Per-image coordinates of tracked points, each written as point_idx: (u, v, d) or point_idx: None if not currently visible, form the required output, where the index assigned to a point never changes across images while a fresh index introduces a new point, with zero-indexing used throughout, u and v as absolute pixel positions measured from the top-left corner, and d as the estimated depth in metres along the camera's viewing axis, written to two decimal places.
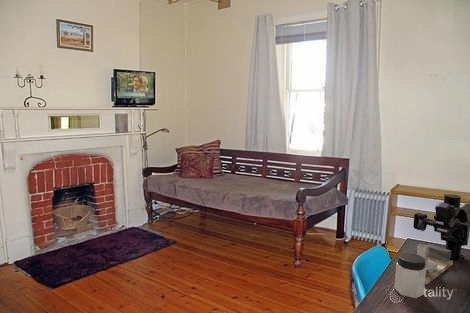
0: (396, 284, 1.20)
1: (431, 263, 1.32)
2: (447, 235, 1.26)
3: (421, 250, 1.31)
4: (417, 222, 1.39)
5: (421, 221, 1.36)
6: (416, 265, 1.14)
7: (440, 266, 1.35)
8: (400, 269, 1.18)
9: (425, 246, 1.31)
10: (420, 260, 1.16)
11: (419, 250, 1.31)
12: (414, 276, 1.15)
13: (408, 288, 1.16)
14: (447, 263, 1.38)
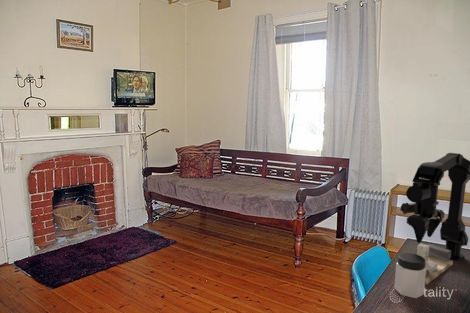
0: (396, 284, 1.20)
1: (431, 263, 1.32)
2: (419, 240, 1.27)
3: (421, 250, 1.31)
4: None
5: None
6: (416, 265, 1.14)
7: (440, 266, 1.35)
8: (400, 269, 1.18)
9: (425, 246, 1.31)
10: (420, 260, 1.16)
11: (419, 250, 1.31)
12: (414, 276, 1.15)
13: (408, 288, 1.16)
14: (447, 263, 1.38)
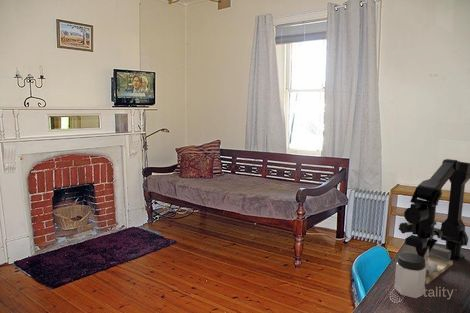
0: (396, 284, 1.20)
1: (431, 263, 1.32)
2: None
3: None
4: None
5: None
6: (416, 265, 1.14)
7: (440, 266, 1.35)
8: (400, 269, 1.18)
9: None
10: (420, 260, 1.16)
11: None
12: (414, 276, 1.15)
13: (408, 288, 1.16)
14: (447, 263, 1.38)
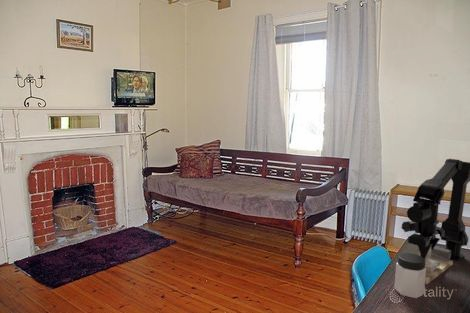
0: (396, 284, 1.20)
1: (433, 261, 1.34)
2: (423, 256, 1.32)
3: None
4: None
5: None
6: (416, 265, 1.14)
7: (440, 266, 1.35)
8: (400, 269, 1.18)
9: None
10: (420, 260, 1.16)
11: None
12: (414, 276, 1.15)
13: (408, 288, 1.16)
14: (447, 263, 1.38)
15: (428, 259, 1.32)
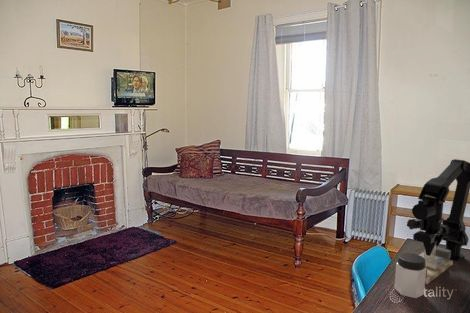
0: (396, 284, 1.20)
1: (438, 258, 1.37)
2: (428, 253, 1.35)
3: None
4: None
5: None
6: (416, 265, 1.14)
7: None
8: (400, 269, 1.18)
9: None
10: (420, 260, 1.16)
11: None
12: (414, 276, 1.15)
13: (408, 288, 1.16)
14: (447, 263, 1.38)
15: (433, 256, 1.35)
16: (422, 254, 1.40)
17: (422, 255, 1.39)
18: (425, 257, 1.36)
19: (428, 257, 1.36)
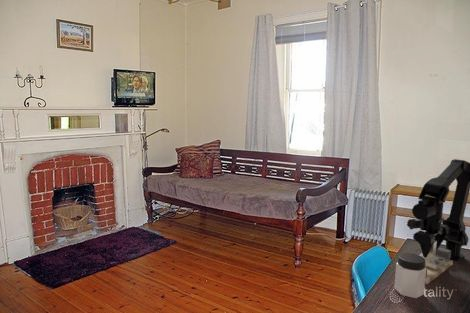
0: (396, 284, 1.20)
1: (438, 258, 1.37)
2: (425, 255, 1.33)
3: None
4: None
5: None
6: (416, 265, 1.14)
7: None
8: (400, 269, 1.18)
9: None
10: (420, 260, 1.16)
11: None
12: (414, 276, 1.15)
13: (408, 288, 1.16)
14: (447, 263, 1.38)
15: (433, 256, 1.35)
16: (422, 254, 1.40)
17: (422, 255, 1.39)
18: None
19: (428, 257, 1.36)
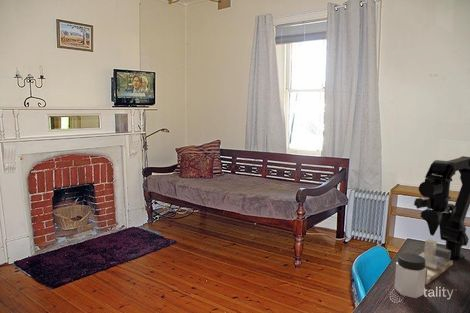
0: (396, 284, 1.20)
1: (438, 258, 1.37)
2: (432, 233, 1.35)
3: (429, 245, 1.35)
4: None
5: None
6: (416, 265, 1.14)
7: None
8: (400, 269, 1.18)
9: (433, 241, 1.35)
10: (420, 260, 1.16)
11: (427, 245, 1.36)
12: (414, 276, 1.15)
13: (408, 288, 1.16)
14: (447, 263, 1.38)
15: (433, 256, 1.35)
16: (422, 254, 1.40)
17: (422, 255, 1.39)
18: (425, 257, 1.37)
19: (428, 257, 1.36)
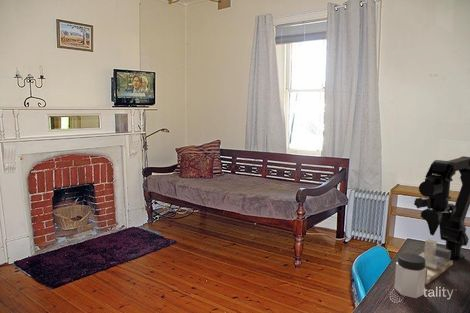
0: (396, 284, 1.20)
1: (438, 258, 1.37)
2: (432, 233, 1.35)
3: (429, 245, 1.35)
4: None
5: None
6: (416, 265, 1.14)
7: None
8: (400, 269, 1.18)
9: (433, 241, 1.35)
10: (420, 260, 1.16)
11: (427, 245, 1.36)
12: (414, 276, 1.15)
13: (408, 288, 1.16)
14: (447, 263, 1.38)
15: (433, 256, 1.35)
16: (422, 254, 1.40)
17: (422, 255, 1.39)
18: (425, 257, 1.37)
19: (428, 257, 1.36)
